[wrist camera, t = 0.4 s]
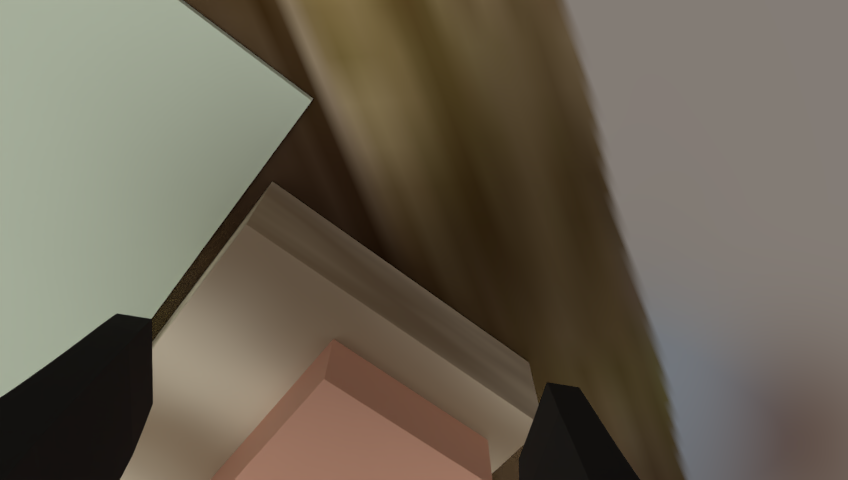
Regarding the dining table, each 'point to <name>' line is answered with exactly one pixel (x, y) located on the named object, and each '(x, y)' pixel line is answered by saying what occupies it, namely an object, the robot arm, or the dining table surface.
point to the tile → (356, 431)
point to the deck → (312, 343)
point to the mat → (118, 160)
